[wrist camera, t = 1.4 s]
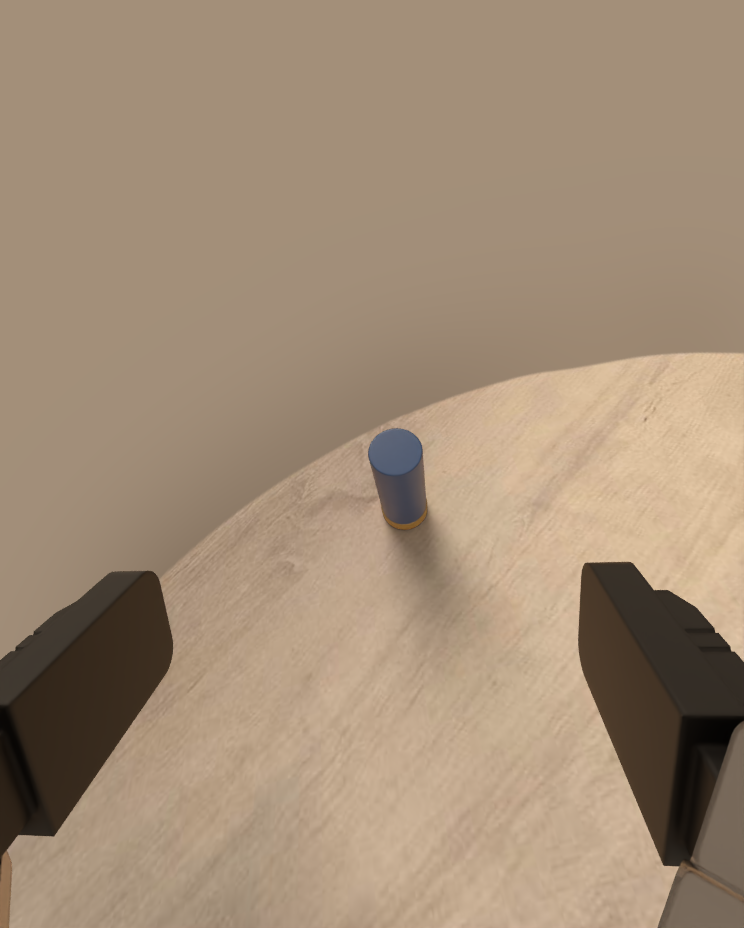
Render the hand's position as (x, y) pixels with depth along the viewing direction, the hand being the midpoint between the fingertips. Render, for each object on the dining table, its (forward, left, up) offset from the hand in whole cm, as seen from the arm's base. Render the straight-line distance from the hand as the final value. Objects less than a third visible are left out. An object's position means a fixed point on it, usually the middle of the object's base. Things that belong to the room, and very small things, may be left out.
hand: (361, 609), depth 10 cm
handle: (-7, +9, -24) cm, 26 cm away
